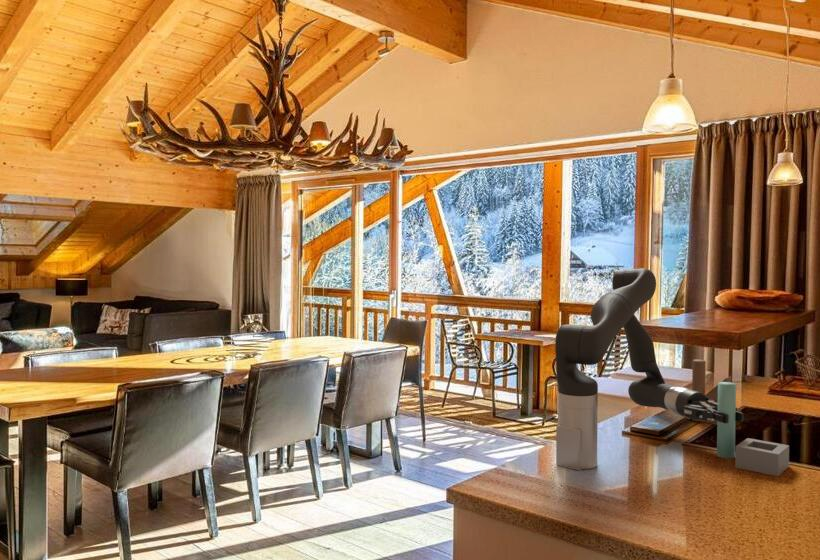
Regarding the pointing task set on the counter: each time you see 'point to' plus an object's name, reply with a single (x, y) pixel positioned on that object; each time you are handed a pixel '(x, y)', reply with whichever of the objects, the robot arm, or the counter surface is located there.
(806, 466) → the counter surface
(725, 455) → the peg
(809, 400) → the counter surface
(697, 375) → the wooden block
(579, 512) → the counter surface
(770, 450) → the socket block
